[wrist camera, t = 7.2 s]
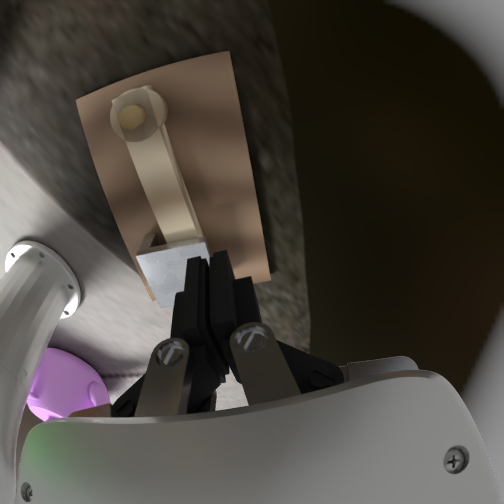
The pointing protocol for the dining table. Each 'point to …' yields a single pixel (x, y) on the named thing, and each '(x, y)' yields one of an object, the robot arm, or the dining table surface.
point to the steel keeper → (168, 264)
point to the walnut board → (185, 160)
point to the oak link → (155, 160)
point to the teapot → (65, 386)
